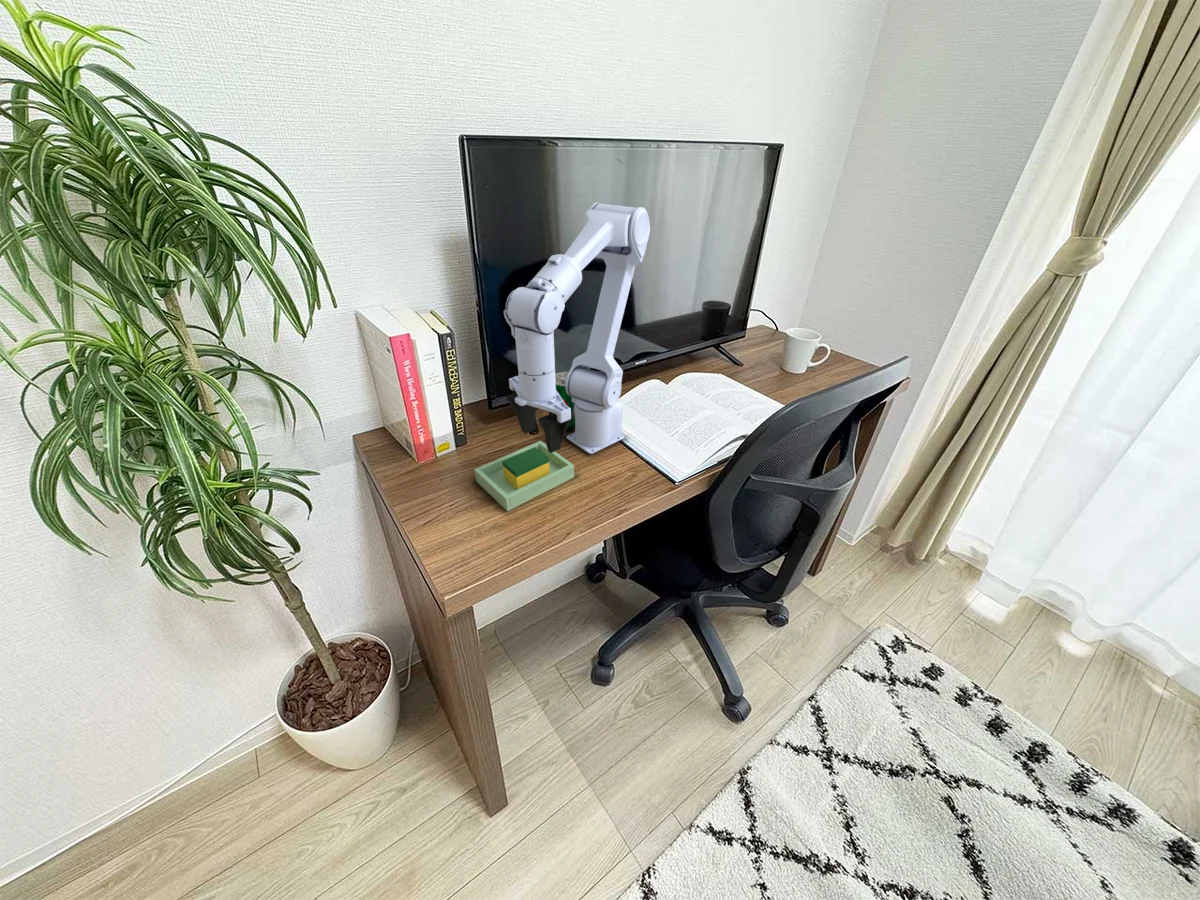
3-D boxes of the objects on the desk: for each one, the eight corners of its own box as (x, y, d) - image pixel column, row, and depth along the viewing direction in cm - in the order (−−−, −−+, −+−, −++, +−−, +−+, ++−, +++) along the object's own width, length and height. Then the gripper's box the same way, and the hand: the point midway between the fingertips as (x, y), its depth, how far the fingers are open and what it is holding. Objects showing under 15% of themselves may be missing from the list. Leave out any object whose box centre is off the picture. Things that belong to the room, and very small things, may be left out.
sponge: (535, 464, 90) (534, 446, 88) (549, 475, 87) (549, 457, 85) (504, 478, 86) (502, 461, 84) (517, 491, 83) (516, 473, 81)
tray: (541, 451, 95) (540, 440, 93) (574, 477, 88) (574, 465, 87) (476, 481, 87) (474, 469, 85) (507, 511, 80) (505, 498, 79)
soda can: (579, 431, 101) (579, 380, 94) (556, 433, 100) (553, 382, 93) (575, 418, 105) (574, 369, 98) (552, 421, 104) (550, 371, 97)
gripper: (489, 359, 76) (498, 430, 83) (542, 392, 67) (547, 468, 75) (526, 348, 80) (531, 417, 87) (581, 378, 71) (581, 452, 79)
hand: (541, 440), depth 81 cm, fingers open, 7 cm apart
